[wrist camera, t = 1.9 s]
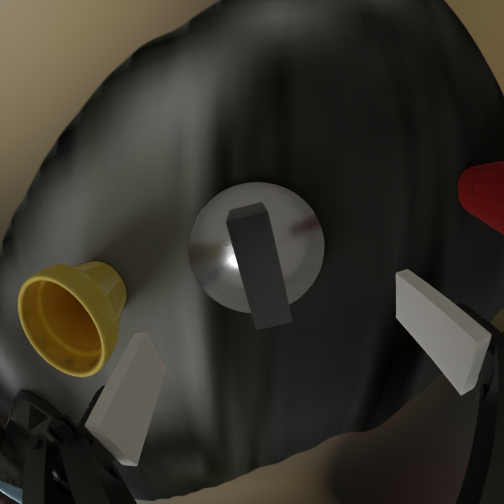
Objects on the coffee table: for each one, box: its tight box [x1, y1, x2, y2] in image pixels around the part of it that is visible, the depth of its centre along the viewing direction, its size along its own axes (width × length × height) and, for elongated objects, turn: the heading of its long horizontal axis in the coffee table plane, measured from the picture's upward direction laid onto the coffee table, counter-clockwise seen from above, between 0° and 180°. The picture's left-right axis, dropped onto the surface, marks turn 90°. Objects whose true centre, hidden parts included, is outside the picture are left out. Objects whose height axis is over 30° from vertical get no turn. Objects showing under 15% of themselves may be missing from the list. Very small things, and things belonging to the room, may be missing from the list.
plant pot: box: [18, 261, 126, 377], centre depth 23 cm, size 10×10×10 cm
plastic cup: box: [458, 161, 504, 235], centre depth 20 cm, size 11×11×12 cm
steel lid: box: [189, 182, 324, 330], centre depth 24 cm, size 13×13×7 cm
